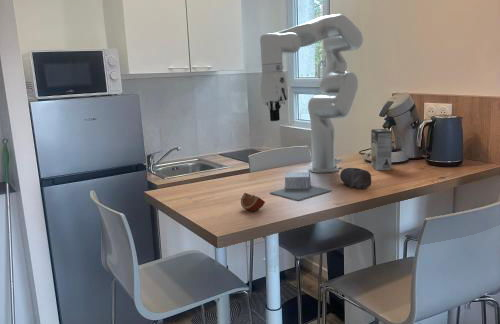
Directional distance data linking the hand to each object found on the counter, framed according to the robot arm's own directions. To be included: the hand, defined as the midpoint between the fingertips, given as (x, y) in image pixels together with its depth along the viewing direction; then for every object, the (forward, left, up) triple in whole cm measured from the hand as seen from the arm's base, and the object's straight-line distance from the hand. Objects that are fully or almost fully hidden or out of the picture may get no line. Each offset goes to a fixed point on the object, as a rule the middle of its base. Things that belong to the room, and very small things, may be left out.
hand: (275, 120), depth 158 cm
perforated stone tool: (-16, +23, -25) cm, 37 cm away
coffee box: (-48, +12, -24) cm, 55 cm away
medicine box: (+1, +6, -22) cm, 22 cm away
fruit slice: (+26, +18, -24) cm, 40 cm away
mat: (+2, +15, -24) cm, 28 cm away
